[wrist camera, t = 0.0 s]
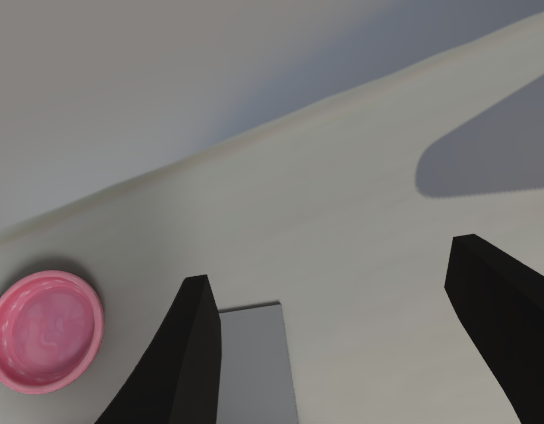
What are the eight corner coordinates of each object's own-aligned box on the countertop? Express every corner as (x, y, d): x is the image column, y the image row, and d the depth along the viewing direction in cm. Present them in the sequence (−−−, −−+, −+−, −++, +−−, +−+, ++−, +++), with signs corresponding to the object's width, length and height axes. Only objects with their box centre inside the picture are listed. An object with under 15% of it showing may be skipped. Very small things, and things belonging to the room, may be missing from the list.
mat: (312, 513, 38) (312, 516, 37) (190, 531, 38) (188, 534, 37) (281, 304, 43) (281, 304, 42) (173, 320, 43) (172, 320, 42)
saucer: (-19, 334, 43) (-42, 335, 40) (64, 250, 46) (48, 246, 42) (52, 415, 41) (33, 423, 38) (136, 323, 43) (124, 323, 40)
